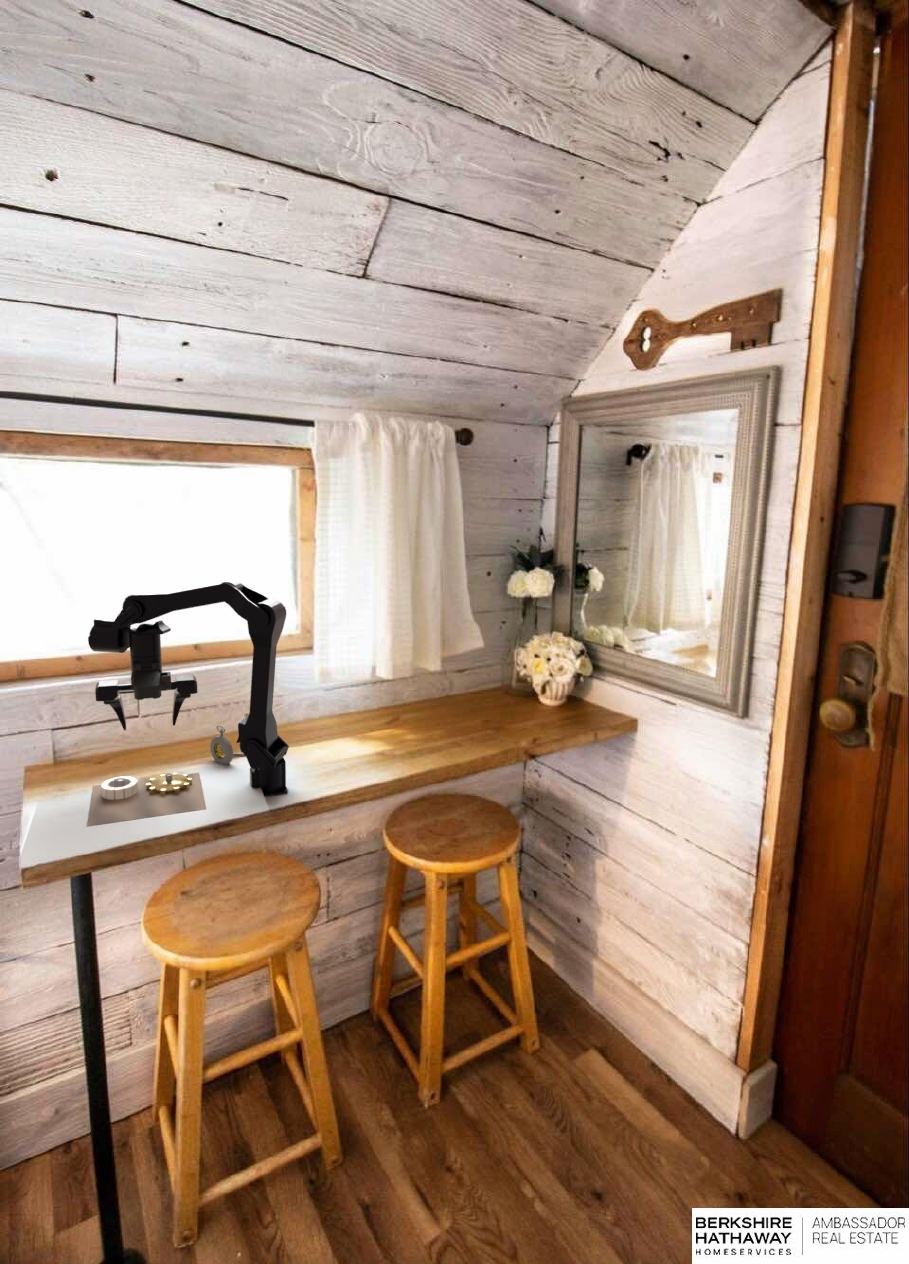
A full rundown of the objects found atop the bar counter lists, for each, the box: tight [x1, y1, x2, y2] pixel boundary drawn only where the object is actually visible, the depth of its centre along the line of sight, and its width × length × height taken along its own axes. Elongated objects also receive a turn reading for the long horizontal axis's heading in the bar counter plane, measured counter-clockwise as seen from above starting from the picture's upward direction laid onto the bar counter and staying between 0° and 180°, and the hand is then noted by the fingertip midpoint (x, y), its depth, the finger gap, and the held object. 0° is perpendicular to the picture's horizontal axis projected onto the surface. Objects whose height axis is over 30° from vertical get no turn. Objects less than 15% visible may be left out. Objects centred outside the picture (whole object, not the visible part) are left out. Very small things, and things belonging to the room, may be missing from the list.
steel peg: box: [114, 778, 125, 787], centre depth 134 cm, size 2×2×3 cm
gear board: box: [86, 772, 207, 827], centre depth 133 cm, size 20×18×2 cm
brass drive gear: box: [146, 772, 192, 795], centre depth 138 cm, size 8×8×2 cm
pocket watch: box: [209, 725, 247, 765], centre depth 152 cm, size 8×8×10 cm
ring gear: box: [100, 775, 139, 800], centre depth 134 cm, size 6×6×2 cm
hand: (149, 727), depth 141 cm, fingers open, 9 cm apart
